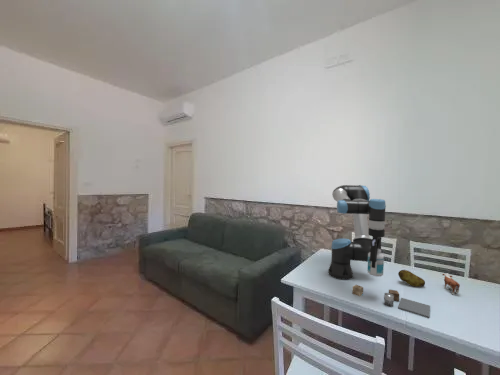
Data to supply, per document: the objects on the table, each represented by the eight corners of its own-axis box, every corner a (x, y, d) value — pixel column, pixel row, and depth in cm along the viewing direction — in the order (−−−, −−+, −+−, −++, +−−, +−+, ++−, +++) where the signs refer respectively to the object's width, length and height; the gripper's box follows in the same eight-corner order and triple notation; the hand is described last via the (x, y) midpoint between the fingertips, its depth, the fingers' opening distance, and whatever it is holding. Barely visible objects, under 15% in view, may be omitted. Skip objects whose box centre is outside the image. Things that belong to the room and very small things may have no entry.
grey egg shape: (383, 304, 116) (383, 294, 116) (385, 301, 119) (385, 292, 119) (392, 307, 113) (393, 297, 113) (394, 304, 116) (394, 294, 116)
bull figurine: (449, 286, 137) (449, 272, 137) (461, 296, 125) (461, 281, 124) (440, 285, 139) (440, 271, 139) (451, 295, 126) (451, 280, 126)
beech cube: (352, 293, 127) (352, 286, 127) (355, 291, 130) (355, 284, 129) (359, 296, 124) (359, 289, 124) (363, 294, 127) (363, 287, 126)
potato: (422, 290, 131) (423, 276, 131) (396, 283, 140) (397, 270, 140) (425, 286, 137) (426, 272, 137) (400, 279, 146) (400, 266, 146)
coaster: (397, 308, 112) (397, 307, 112) (401, 299, 121) (401, 297, 121) (428, 318, 105) (429, 316, 105) (430, 307, 114) (430, 305, 114)
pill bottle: (364, 271, 127) (365, 246, 126) (378, 271, 127) (379, 247, 126) (371, 276, 120) (372, 251, 119) (386, 277, 119) (387, 251, 119)
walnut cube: (390, 300, 120) (390, 292, 120) (388, 296, 124) (388, 289, 124) (399, 301, 119) (399, 294, 119) (397, 298, 123) (397, 290, 123)
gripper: (380, 232, 112) (379, 279, 113) (388, 226, 128) (386, 267, 128) (363, 230, 117) (362, 275, 118) (373, 224, 132) (372, 263, 133)
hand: (375, 270), depth 123 cm, fingers closed on pill bottle, 7 cm apart
